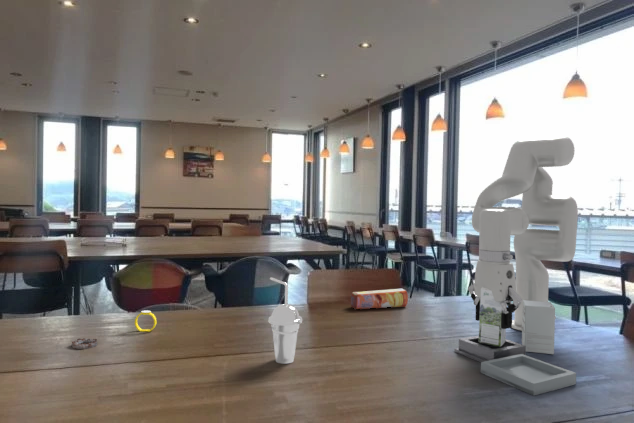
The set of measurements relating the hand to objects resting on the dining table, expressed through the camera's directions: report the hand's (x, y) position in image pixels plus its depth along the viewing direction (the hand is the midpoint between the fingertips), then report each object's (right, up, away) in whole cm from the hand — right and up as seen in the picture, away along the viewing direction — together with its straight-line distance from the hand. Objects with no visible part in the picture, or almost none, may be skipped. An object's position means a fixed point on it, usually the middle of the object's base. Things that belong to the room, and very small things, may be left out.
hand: (493, 323), depth 120 cm
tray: (+2, -9, -15) cm, 18 cm away
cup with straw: (-54, -8, -7) cm, 55 cm away
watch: (-97, -6, +16) cm, 98 cm away
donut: (-108, -7, +2) cm, 108 cm away
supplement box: (+14, -9, +6) cm, 18 cm away
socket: (-1, -8, 0) cm, 8 cm away
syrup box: (0, -5, 0) cm, 5 cm away
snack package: (-23, -7, +52) cm, 57 cm away
